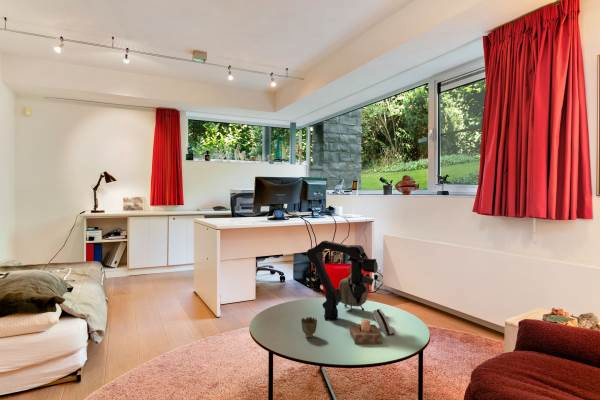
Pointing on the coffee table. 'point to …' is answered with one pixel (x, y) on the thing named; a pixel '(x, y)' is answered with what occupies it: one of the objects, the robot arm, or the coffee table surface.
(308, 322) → the cup
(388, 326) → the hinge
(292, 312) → the coffee table surface
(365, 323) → the peg
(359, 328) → the hole block
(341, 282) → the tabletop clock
